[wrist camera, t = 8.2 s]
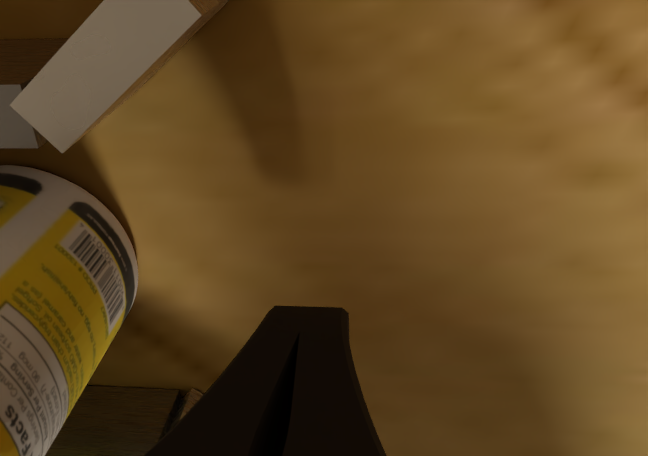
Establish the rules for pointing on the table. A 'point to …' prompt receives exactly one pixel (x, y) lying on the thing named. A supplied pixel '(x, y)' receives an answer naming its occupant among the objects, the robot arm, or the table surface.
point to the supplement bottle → (54, 301)
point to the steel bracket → (65, 130)
